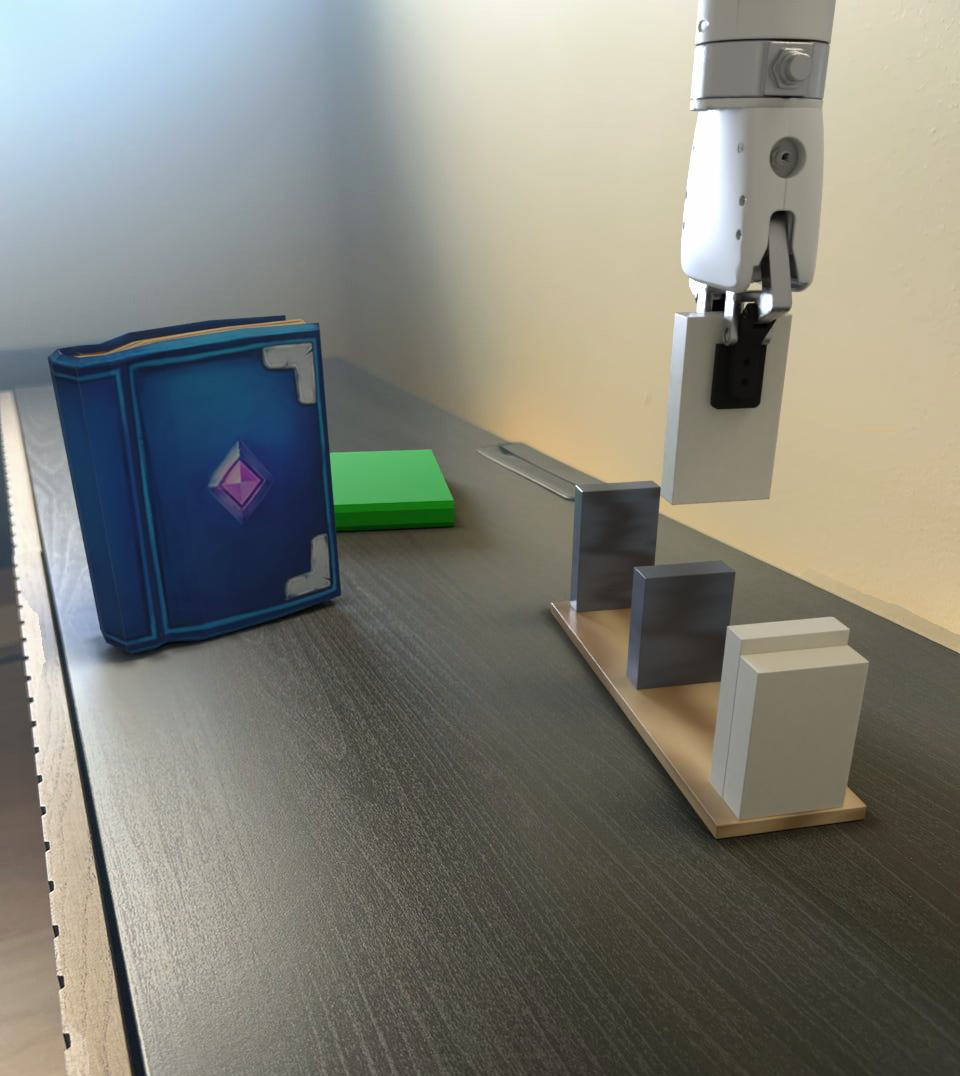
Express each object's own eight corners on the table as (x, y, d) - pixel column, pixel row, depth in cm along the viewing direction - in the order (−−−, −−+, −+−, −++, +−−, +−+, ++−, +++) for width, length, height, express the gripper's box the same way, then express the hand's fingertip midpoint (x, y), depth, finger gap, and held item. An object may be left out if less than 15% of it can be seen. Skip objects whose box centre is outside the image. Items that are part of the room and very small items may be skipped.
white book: (755, 490, 73) (777, 309, 68) (770, 499, 71) (793, 314, 66) (659, 495, 72) (674, 312, 67) (671, 505, 70) (687, 317, 65)
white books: (808, 770, 69) (833, 616, 65) (843, 807, 65) (872, 646, 61) (708, 782, 68) (726, 625, 63) (739, 820, 64) (760, 656, 59)
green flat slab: (208, 480, 133) (206, 456, 131) (431, 472, 137) (431, 449, 135) (192, 539, 112) (189, 512, 111) (454, 527, 116) (454, 501, 115)
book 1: (116, 669, 84) (67, 348, 74) (83, 640, 89) (32, 335, 79) (346, 603, 97) (332, 320, 86) (306, 581, 102) (287, 311, 91)
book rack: (655, 603, 97) (665, 476, 92) (864, 819, 66) (898, 645, 61) (550, 612, 95) (555, 483, 90) (715, 839, 64) (737, 661, 59)
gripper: (893, 75, 55) (840, 429, 62) (757, 91, 69) (727, 377, 77) (758, 72, 53) (721, 435, 61) (647, 89, 67) (628, 381, 75)
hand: (725, 400), depth 69 cm, fingers closed on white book, 2 cm apart
